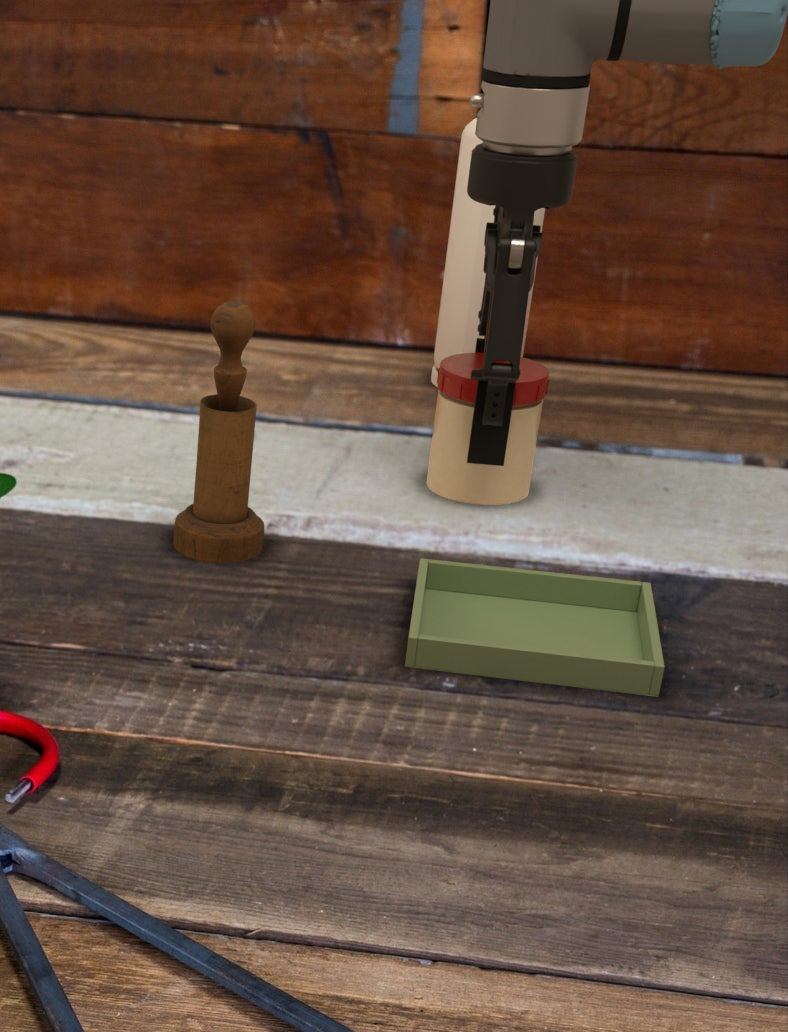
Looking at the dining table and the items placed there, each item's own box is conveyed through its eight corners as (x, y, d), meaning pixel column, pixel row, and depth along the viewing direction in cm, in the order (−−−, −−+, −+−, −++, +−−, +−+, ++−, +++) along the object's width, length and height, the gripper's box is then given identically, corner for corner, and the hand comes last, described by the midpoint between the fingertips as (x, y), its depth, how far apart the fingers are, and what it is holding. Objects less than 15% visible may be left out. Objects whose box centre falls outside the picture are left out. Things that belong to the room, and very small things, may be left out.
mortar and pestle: (258, 572, 119) (279, 319, 110) (167, 564, 120) (180, 312, 111) (265, 537, 124) (285, 294, 116) (178, 530, 125) (191, 288, 117)
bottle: (416, 390, 158) (454, 73, 145) (450, 370, 164) (491, 65, 151) (497, 406, 154) (545, 82, 141) (530, 386, 160) (578, 73, 147)
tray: (644, 616, 113) (650, 582, 112) (657, 703, 102) (665, 666, 101) (415, 591, 116) (420, 557, 115) (403, 673, 105) (408, 637, 104)
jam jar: (528, 480, 137) (546, 366, 132) (528, 515, 130) (547, 395, 125) (428, 471, 138) (442, 357, 134) (423, 504, 131) (438, 385, 127)
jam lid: (415, 381, 132) (418, 359, 131) (497, 370, 135) (501, 347, 134) (483, 411, 125) (487, 388, 124) (568, 398, 128) (572, 375, 128)
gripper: (471, 119, 132) (437, 394, 142) (474, 169, 112) (434, 485, 123) (570, 124, 131) (527, 401, 141) (590, 176, 111) (539, 494, 121)
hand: (484, 440), depth 132 cm, fingers open, 10 cm apart
